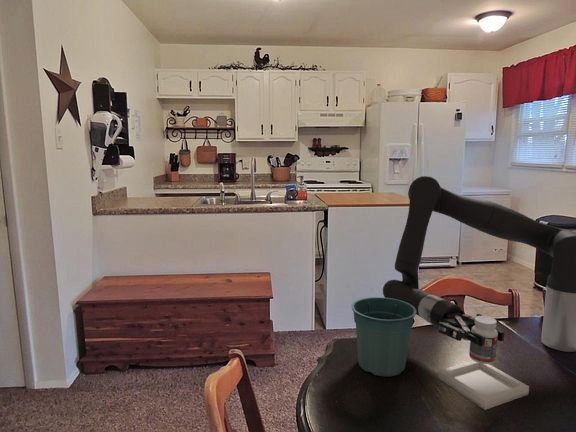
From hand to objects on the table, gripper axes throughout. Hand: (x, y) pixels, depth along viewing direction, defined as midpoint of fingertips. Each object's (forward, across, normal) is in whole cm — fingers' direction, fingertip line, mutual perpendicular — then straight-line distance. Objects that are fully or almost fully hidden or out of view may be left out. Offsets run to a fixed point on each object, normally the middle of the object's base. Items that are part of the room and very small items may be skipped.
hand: (493, 339), depth 95 cm
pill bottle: (-2, 0, +6) cm, 7 cm away
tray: (-2, 0, +13) cm, 13 cm away
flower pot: (-20, -16, +14) cm, 29 cm away
